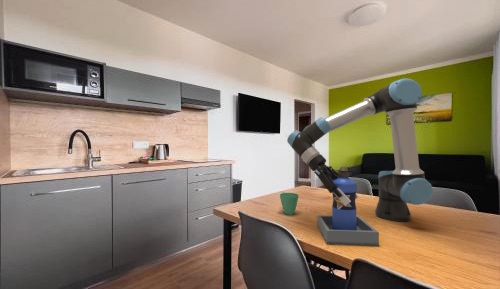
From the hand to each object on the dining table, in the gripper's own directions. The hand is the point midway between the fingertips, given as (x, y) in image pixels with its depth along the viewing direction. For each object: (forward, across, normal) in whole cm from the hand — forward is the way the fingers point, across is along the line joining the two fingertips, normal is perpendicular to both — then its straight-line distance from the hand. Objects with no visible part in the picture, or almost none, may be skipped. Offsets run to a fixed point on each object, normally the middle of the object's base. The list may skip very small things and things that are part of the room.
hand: (352, 201), depth 87 cm
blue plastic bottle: (+6, 0, -11) cm, 12 cm away
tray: (+8, 0, -12) cm, 15 cm away
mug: (-16, -13, -37) cm, 42 cm away
